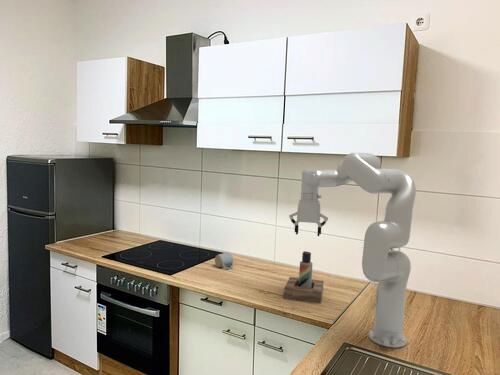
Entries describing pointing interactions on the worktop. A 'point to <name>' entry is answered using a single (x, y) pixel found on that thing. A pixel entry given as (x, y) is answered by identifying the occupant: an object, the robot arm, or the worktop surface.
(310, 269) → the lotion bottle
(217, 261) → the ceramic mug
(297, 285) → the holder
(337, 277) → the worktop surface
